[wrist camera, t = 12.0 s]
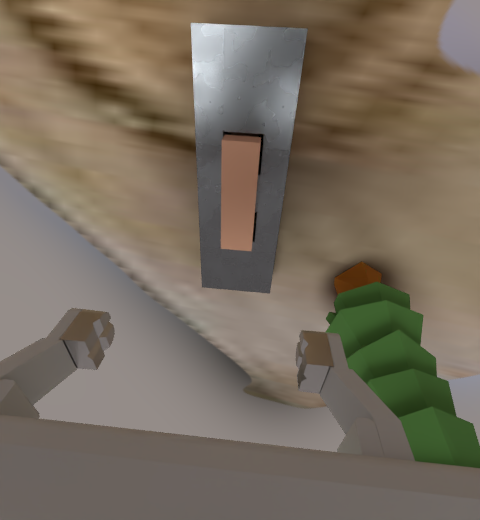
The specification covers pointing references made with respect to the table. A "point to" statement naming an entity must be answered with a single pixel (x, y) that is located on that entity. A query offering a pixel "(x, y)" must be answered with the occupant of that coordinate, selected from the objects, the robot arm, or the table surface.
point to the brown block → (239, 189)
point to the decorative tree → (400, 366)
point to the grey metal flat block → (244, 121)
